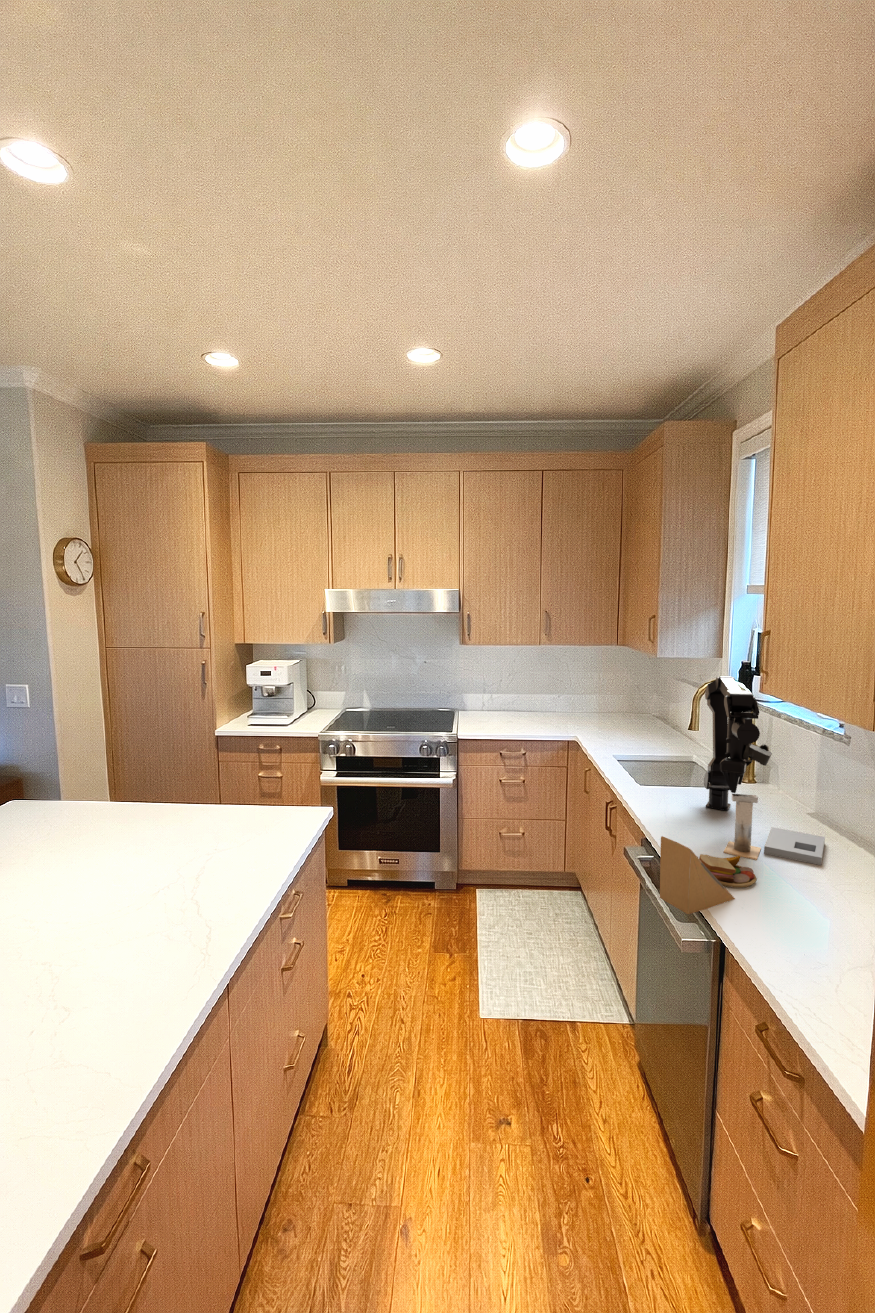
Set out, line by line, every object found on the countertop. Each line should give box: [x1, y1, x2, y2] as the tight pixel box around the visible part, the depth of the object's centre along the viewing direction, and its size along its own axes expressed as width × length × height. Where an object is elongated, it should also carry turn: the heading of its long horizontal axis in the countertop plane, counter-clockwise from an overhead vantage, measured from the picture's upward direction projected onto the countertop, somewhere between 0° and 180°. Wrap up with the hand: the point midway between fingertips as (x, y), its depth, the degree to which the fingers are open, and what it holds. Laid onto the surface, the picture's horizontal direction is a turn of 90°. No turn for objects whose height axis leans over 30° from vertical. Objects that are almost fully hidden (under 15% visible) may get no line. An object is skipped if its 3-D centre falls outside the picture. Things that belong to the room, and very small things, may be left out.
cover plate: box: [763, 826, 826, 866], centre depth 166 cm, size 16×13×2 cm
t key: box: [731, 793, 759, 852], centre depth 164 cm, size 4×6×15 cm, turn 75°
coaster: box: [723, 840, 762, 861], centre depth 164 cm, size 8×8×1 cm
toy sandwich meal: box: [698, 853, 757, 889], centre depth 150 cm, size 12×14×5 cm
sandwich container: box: [659, 835, 736, 915], centre depth 139 cm, size 9×15×15 cm, turn 116°
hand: (736, 788), depth 176 cm, fingers open, 9 cm apart
